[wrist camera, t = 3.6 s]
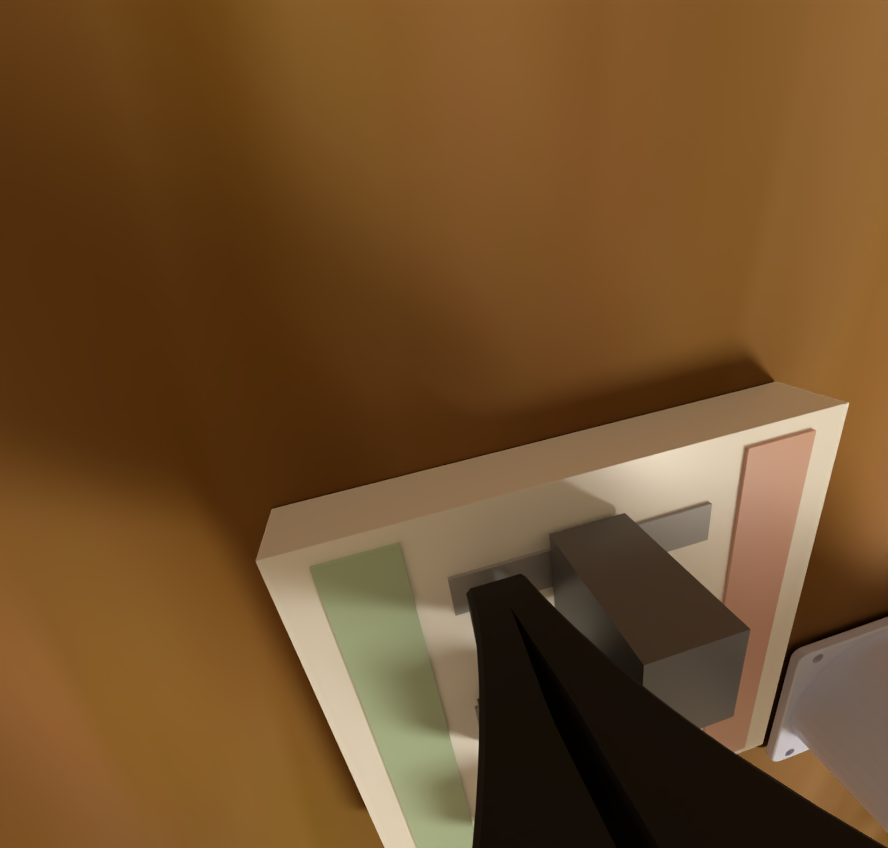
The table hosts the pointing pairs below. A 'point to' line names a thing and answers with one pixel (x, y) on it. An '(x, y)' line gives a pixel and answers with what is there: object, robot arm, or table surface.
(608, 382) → the table surface
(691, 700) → the block
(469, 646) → the breaker board
